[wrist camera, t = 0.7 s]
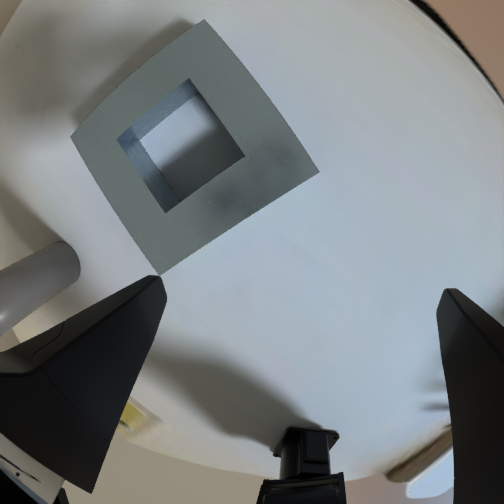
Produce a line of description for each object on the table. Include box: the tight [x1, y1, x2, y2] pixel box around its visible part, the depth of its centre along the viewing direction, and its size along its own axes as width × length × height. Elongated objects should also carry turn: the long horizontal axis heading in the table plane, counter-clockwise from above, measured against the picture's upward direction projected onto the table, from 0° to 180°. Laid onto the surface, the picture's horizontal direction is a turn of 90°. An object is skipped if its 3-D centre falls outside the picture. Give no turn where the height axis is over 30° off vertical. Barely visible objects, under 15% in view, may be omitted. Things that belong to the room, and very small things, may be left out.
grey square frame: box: [70, 19, 319, 276], centre depth 19 cm, size 13×13×4 cm
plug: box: [0, 241, 80, 337], centre depth 18 cm, size 4×4×15 cm
